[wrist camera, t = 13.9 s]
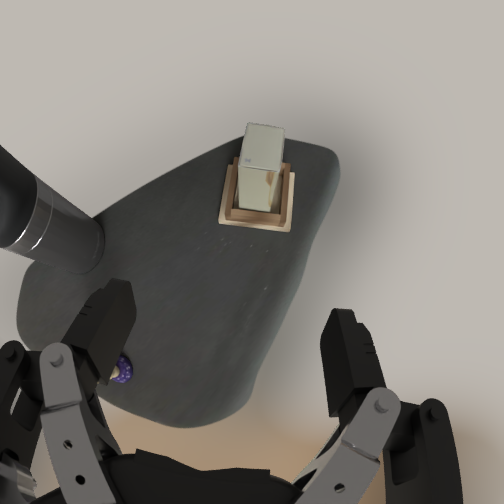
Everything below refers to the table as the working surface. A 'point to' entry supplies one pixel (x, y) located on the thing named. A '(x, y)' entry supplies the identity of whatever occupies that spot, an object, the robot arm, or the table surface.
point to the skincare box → (259, 166)
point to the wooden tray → (271, 221)
